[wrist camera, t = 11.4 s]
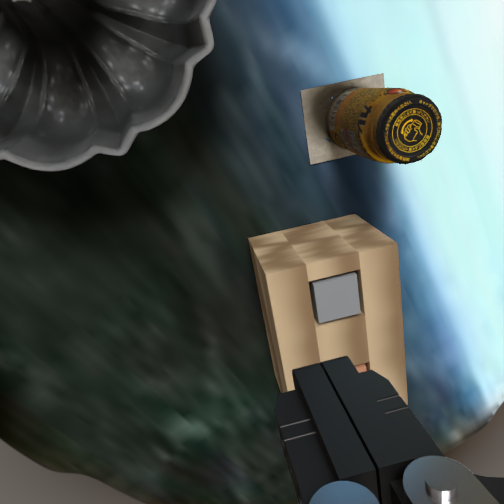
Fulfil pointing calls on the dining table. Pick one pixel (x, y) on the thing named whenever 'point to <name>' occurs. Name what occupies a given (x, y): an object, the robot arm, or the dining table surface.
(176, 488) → the dining table surface
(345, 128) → the condiment
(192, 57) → the bundt pan
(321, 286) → the peg grey
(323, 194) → the dining table surface
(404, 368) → the oak block
